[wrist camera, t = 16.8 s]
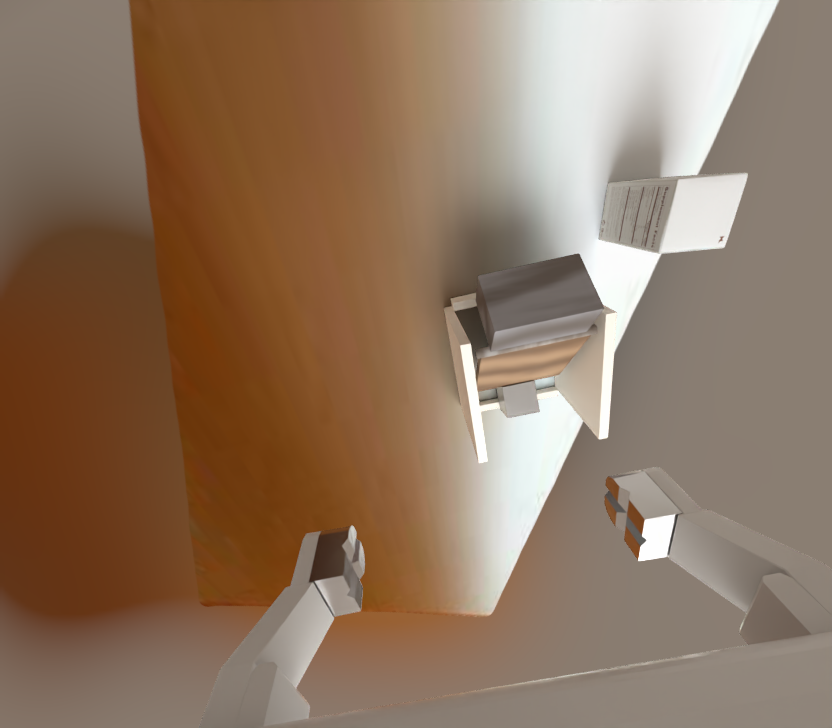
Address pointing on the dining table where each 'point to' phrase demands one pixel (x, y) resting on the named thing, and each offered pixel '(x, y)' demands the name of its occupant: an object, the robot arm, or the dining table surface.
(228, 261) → the dining table surface
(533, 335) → the trapdoor
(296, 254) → the dining table surface
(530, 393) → the light grey cube
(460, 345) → the frame
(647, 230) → the supplement box
